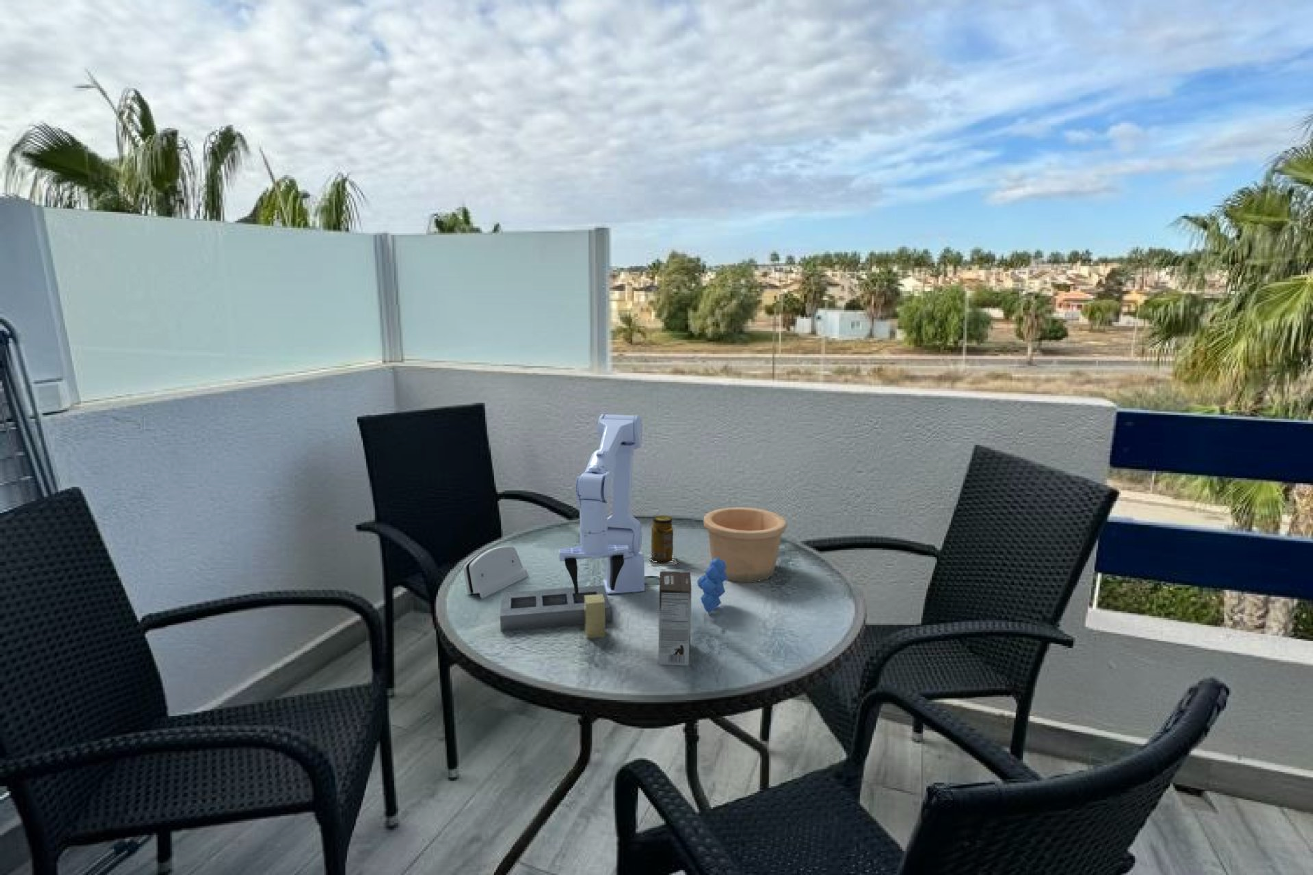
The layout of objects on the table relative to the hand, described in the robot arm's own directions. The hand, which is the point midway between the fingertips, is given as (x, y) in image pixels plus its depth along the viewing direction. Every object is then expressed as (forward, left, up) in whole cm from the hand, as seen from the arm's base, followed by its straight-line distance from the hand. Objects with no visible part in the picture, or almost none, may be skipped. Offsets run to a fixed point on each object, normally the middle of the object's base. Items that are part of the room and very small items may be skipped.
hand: (594, 589), depth 140 cm
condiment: (-23, -39, -10) cm, 46 cm away
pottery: (-43, -28, -10) cm, 52 cm away
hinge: (+22, -31, -10) cm, 39 cm away
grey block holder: (+8, -11, -10) cm, 17 cm away
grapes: (-28, -8, -10) cm, 31 cm away
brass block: (0, 0, -10) cm, 10 cm away
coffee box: (-15, +11, -10) cm, 22 cm away
